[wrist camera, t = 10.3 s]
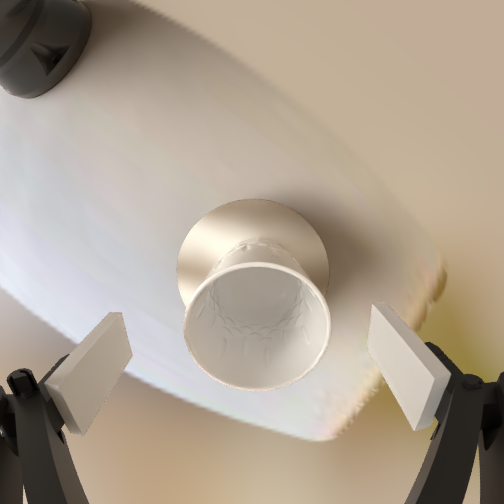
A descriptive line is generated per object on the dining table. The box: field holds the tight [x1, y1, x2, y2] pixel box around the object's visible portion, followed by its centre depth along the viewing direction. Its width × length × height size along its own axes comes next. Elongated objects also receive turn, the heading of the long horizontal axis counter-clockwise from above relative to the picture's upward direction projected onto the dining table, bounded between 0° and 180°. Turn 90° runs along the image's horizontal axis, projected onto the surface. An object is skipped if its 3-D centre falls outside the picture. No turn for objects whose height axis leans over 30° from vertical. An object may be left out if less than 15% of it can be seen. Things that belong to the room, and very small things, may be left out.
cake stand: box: [177, 199, 329, 308], centre depth 28 cm, size 13×13×6 cm
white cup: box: [184, 238, 332, 391], centre depth 20 cm, size 8×8×10 cm
